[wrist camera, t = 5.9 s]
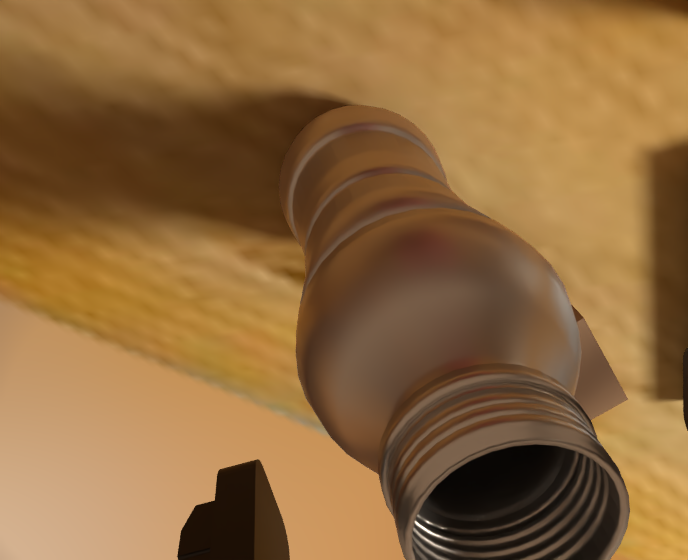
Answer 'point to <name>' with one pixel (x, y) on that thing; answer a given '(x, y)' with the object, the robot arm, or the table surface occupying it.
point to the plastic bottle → (442, 352)
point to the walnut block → (595, 375)
